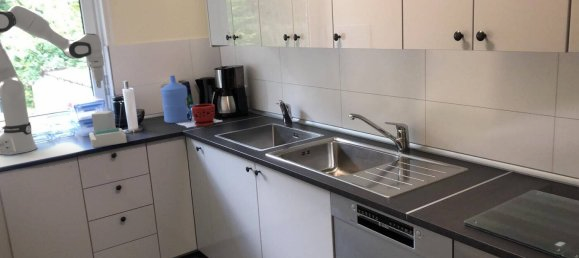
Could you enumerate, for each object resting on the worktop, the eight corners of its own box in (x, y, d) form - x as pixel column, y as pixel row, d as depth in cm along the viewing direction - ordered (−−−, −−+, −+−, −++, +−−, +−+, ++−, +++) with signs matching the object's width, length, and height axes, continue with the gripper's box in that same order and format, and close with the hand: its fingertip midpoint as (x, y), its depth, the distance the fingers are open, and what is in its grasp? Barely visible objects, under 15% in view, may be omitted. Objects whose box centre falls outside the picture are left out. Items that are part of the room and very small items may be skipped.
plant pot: (217, 126, 305) (215, 105, 302) (194, 128, 302) (192, 108, 299) (215, 121, 317) (213, 102, 314) (193, 124, 314) (190, 104, 311)
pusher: (96, 143, 279) (95, 131, 278) (120, 140, 284) (118, 127, 282) (97, 145, 276) (95, 132, 274) (121, 141, 280) (119, 129, 279)
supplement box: (117, 136, 295) (113, 110, 292) (111, 140, 286) (107, 113, 283) (101, 137, 296) (98, 110, 292) (95, 141, 287) (91, 114, 284)
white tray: (90, 139, 290) (88, 129, 289) (121, 135, 297) (120, 124, 296) (93, 147, 273) (91, 136, 271) (126, 142, 279) (125, 131, 278)
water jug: (172, 124, 317) (167, 78, 310) (159, 121, 328) (154, 76, 322) (195, 119, 327) (190, 74, 320) (181, 117, 338) (176, 73, 332)
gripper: (88, 62, 300) (91, 86, 303) (90, 64, 282) (94, 90, 285) (99, 61, 303) (103, 84, 306) (103, 63, 284) (106, 88, 288)
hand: (99, 87), depth 295 cm, fingers open, 4 cm apart
